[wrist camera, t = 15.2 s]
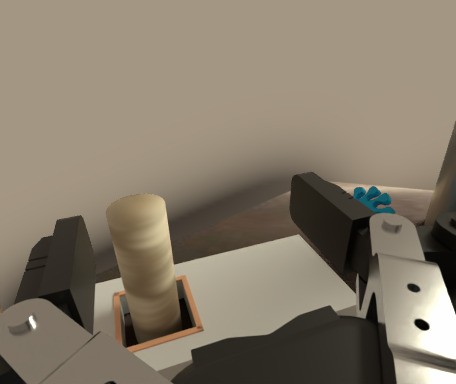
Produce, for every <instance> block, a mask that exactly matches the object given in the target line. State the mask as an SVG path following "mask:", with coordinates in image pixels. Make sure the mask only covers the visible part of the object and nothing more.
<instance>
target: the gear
mask: <svg viewBox="0 0 456 384" xmlns="http://www.w3.org/2000/svg"><path fill="white" fill-rule="evenodd" d="M365 194H366V191H365V190H364V189H363V188H362V187H357V188H355V189H354V195H353V198H356V199H357V200H358V201H360V202H361V203H363V204H364V205H365V206H367V207H368V208H369V209H371V210H372V211H374V212H375V213H376V214H379V213H391V214H395V211H394V210H393V209H392V208H391V207H386V208H383V209H378V208H376V207H377V206H378V205H380V204H382V205H389V204H391V198H390V196H389V195H388V194H387V193H384V194H382V195H381V196H379V195H380V194H381V192H380V191H379V190H378V189H377V188H376V187H374V186H372V187H371V188H370V189H369V191H368V192H367V194H366V195H365ZM364 195H365V196H364ZM378 196H379V197H378ZM361 197H362V198H361ZM375 197H378V198H376V199H374V200H370V199H372V198H375Z"/></svg>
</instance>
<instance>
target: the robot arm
mask: <svg viewBox="0 0 456 384" xmlns="http://www.w3.org/2000/svg"><path fill="white" fill-rule="evenodd" d="M290 215H291V218H292V220H293V222H294V223H295V224H296V225H297V226H298V227H299V228H300V229H301V231H302V232H303V233H304V234H305V235H306V236H307V237H308V238H309V239H310V240H311V241H312V243H313V244H314V245H315V246H316V247H317V248H318V249H319V250H320V251H321V252H322V253H323V254H324V256H325V257H326V258H327V259H328V260H329V261H330V262H331V263H332V264H333V265H334V266H335V268H336V269H337V270H338V271H339V272H340V273H341V274H342V275H343V274H347V273H350V272H353V271H356V272H357V273H358V274H357V278H356V311H357V317H355V316H344V315H337V313H336V312H335V311H334V310H333V308H332V307H331V306H330V305H328V306H325V307H322V308H319V309H316V310H313V311H310V312H307V313H304V314H300V315H298V316H297V317H295V318H294V319H292V320H291V321H289V322H287V323H286V324H284V325H283V326H281V327H280V328H278V329H277V330H275V331H274V332H272V333H270V334H267V335H257V336H244V337H231V338H226V339H223V340H220V341H217V342H213V343H210V344H207V345H204V346H201V347H198V348H195V349H192V350H191V356H192V362H193V363H191V364H190V365H188V366H187V367H185V368H184V369H183V370H182V371H181V372H179V373H178V374H177V375H176V376H175V377H174V378H173V379H172V380H171V381H169V380H168V379H166V378H165V377H164V376H162V375H161V374H160V373H158V372H157V371H156V370H154V369H153V368H152V367H150V366H149V365H148V364H146V363H145V362H144V361H142V360H141V359H140V358H138V357H137V356H136V355H134V354H133V353H132V352H130V351H129V350H128V349H126V348H125V347H124V346H122V345H121V344H120V343H118V342H117V341H116V340H114V339H113V338H112V337H110V336H109V335H108V334H106V333H104V332H102V331H99V332H98V333H96V334H95V335H94V336H93V325H94V303H95V280H96V262H95V256H94V251H93V248H92V245H91V242H90V238H89V235H88V232H87V229H86V226H85V222H84V219H83V217H82V216H81V215H80V216H75V217H70V218H64V219H59V220H57V221H56V225H55V229H54V233H53V236H48V237H43V238H42V239H41V240H40V241H39V242H38V243H37V244H36V245H35V246H34V247H33V248H32V251H31V254H30V257H29V262H28V263H27V266H26V269H25V270H26V272H24V275H23V278H22V281H21V284H20V287H19V290H18V293H17V297H16V300H15V303H14V305H13V306H11V307H9V308H8V309H6V310H5V311H4V312H2V313H1V314H0V384H456V122H455V125H454V129H453V132H452V135H451V138H450V141H449V145H448V148H447V151H446V154H445V157H444V161H443V164H442V167H441V171H440V174H439V177H438V180H437V183H436V186H435V190H434V193H433V196H432V199H431V202H430V206H429V209H428V212H427V216H426V219H425V222H424V226H415V225H414V224H413V223H412V222H411V221H409V220H408V219H406V218H404V217H402V216H399V215H395V214H391V213H379V214H376V213H375V212H374V211H372V210H371V209H369V208H368V207H367V206H365V205H364V204H363V203H361V202H360V201H358V200H357V199H356V198H353V196H351V195H350V194H349V193H346V191H344V190H343V189H342V188H340V187H339V186H337V185H335V184H332V183H330V182H327V181H324V180H323V179H322V178H320V177H319V176H317V175H316V174H315V173H313V172H308V173H302V174H297V175H294V176H293V178H292V183H291V196H290Z"/></svg>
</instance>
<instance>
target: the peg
mask: <svg viewBox="0 0 456 384" xmlns="http://www.w3.org/2000/svg"><path fill="white" fill-rule="evenodd" d="M106 216H107V220H108V224H109V229H110V233H111V237H112V241H113V245H114V249H115V253H116V257H117V262H118V266H119V270H120V274H121V278H122V282H123V286H124V290H125V294H126V298H127V303H128V307H129V311H130V315H131V319H132V323H133V327H134V331H135V335H136V339H137V342H138V344H141V343H144V342H147V341H151V340H154V339H157V338H160V337H164V336H167V335H170V334H174V333H177V332H180V331H182V320H181V313H180V306H179V299H178V292H177V285H176V278H175V271H174V264H173V257H172V249H171V242H170V235H169V228H168V221H167V214H166V207H165V202H164V200H163V199H162V198H161V197H159V196H156V195H152V194H136V195H130V196H126V197H123V198H121V199H119V200H117V201H115V202H113V203H112V204H111V205H110V206H109V207H108V208H107V210H106Z"/></svg>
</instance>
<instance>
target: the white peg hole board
mask: <svg viewBox="0 0 456 384" xmlns="http://www.w3.org/2000/svg"><path fill="white" fill-rule="evenodd" d="M174 271H175V278H176V285H177V292H178V299H181V298H184V299H185V302H186V306H187V309H188V312H189V316H190V319H191V322H192V326H193V328H190V329H187V330H183V331H180V332H177V333H174V334H170V335H167V336H164V337H160V338H157V339H154V340H151V341H147V342H144V343H141V344H138V345H134V346H131V347H128V348H126V336H125V322H124V314H127V313H130V311H129V307H128V303H127V298H126V294H125V290H124V286H123V282H122V278H118V279H114V280H110V281H106V282H102V283H97V284H95V303H94V325H93V336H94V335H95V334H96V333H98V332H99V331H102V332H104V333H106V334H108V335H109V336H110V337H112V338H113V339H114V340H116V341H117V342H118V343H120V344H121V345H122V346H124V347H125V348H126V349H128V350H129V351H130V352H132V353H133V354H134V355H136V356H137V357H138V358H140V359H141V360H142V361H144V362H145V363H146V364H148V365H149V366H150V367H152V368H153V369H154V370H156V371H157V372H158V373H160V374H161V375H162V376H164V377H165V378H166V379H168V380H169V381H171V380H172V379H173V378H174V377H175V376H176V375H177V374H178V373H179V372H181V371H182V370H183V369H184V368H185V367H187V366H188V365H190V364H191V363H193V362H192V356H191V350H192V349H195V348H198V347H201V346H204V345H207V344H210V343H213V342H217V341H220V340H223V339H226V338H231V337H244V336H257V335H267V334H270V333H272V332H274V331H275V330H277V329H278V328H280V327H281V326H283V325H284V324H286V323H287V322H289V321H291V320H292V319H294V318H295V317H297V316H298V315H300V314H304V313H307V312H310V311H313V310H316V309H319V308H322V307H325V306H328V305H330V306H331V307H332V308H333V310H334V311H335V312H336V313H337V315H344V316H355V317H357V311H356V294H355V293H354V292H353V291H352V290H351V289H350V288H349V287H348V285H347V284H346V283H345V282H344V281H343V280H342V279H341V278H340V277H339V276H338V275H337V274H336V273H335V272H334V271H333V270H332V269H331V268H330V267H329V266H328V265H327V264H326V263H325V261H324V260H323V259H322V258H321V257H320V256H319V255H318V254H317V253H316V252H315V251H314V250H313V249H312V248H311V247H310V246H309V245H308V244H307V243H306V242H305V241H304V240H303V239H302V237H301V236H300V235H295V236H291V237H287V238H283V239H278V240H274V241H270V242H266V243H262V244H258V245H254V246H250V247H246V248H241V249H237V250H233V251H229V252H225V253H221V254H217V255H213V256H209V257H204V258H200V259H196V260H192V261H188V262H184V263H180V264H176V265H174Z"/></svg>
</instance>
